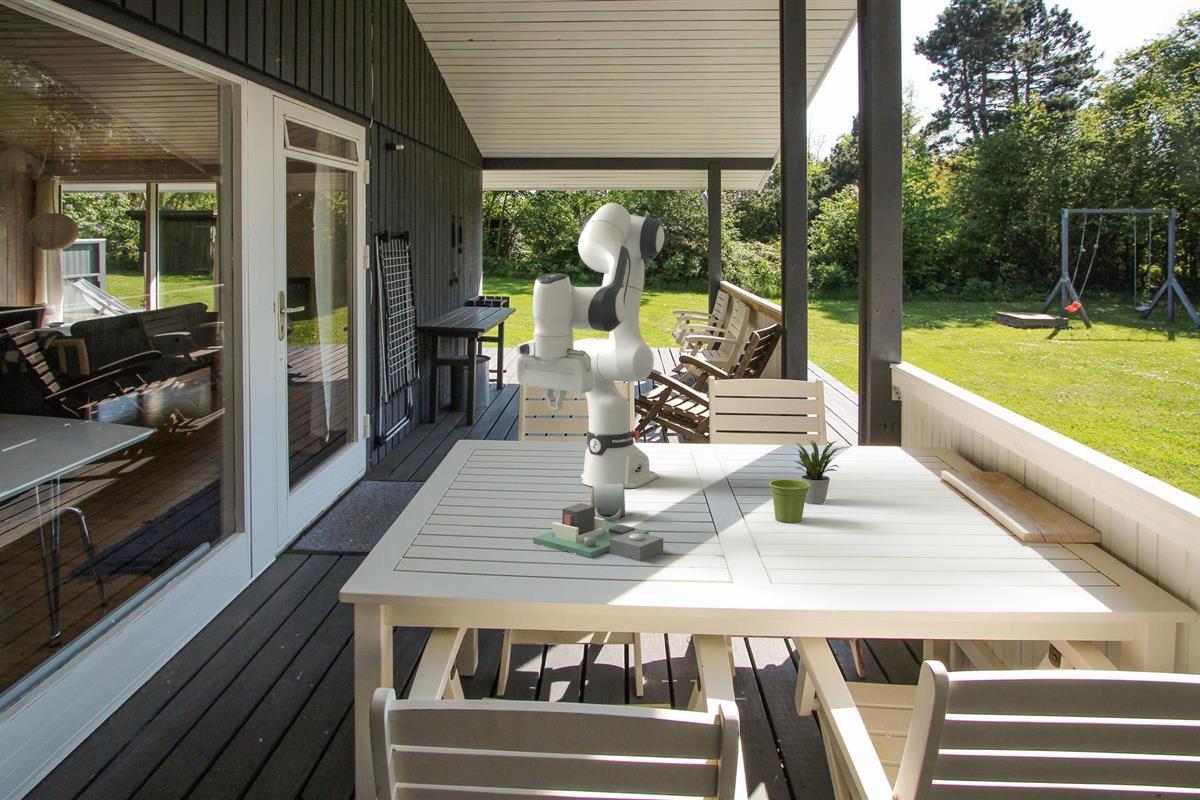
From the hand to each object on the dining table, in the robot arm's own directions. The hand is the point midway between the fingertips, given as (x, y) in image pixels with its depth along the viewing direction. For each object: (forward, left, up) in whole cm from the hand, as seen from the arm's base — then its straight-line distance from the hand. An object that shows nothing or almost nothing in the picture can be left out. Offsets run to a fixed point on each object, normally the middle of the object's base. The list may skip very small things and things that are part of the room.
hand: (555, 408), depth 216 cm
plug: (+5, +12, -26) cm, 29 cm away
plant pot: (-39, +39, -27) cm, 61 cm away
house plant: (-59, +37, -27) cm, 74 cm away
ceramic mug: (-13, +5, -27) cm, 31 cm away
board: (+3, +14, -27) cm, 30 cm away
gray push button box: (+4, +27, -27) cm, 38 cm away
